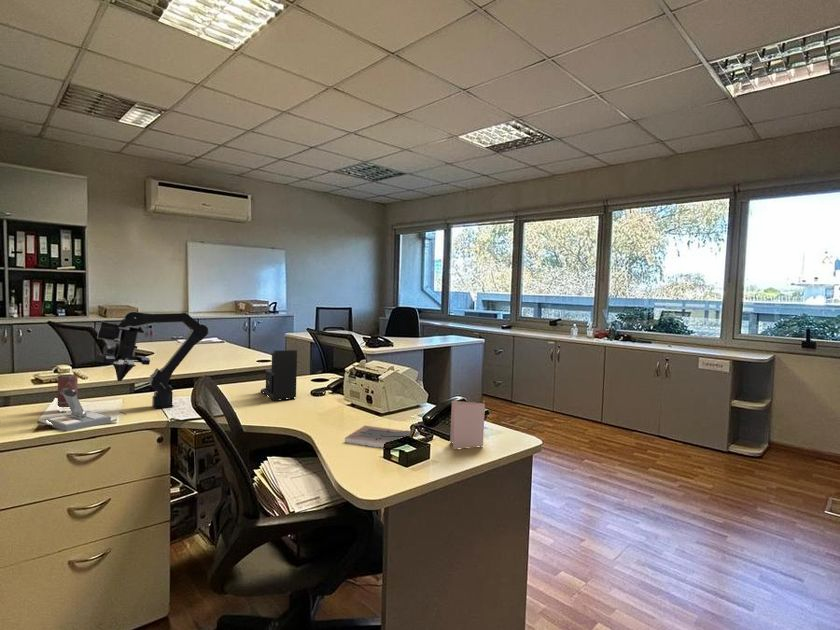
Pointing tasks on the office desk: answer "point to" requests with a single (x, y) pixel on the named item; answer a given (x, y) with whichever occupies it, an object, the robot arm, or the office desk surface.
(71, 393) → the toggle lever
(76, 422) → the switch base
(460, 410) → the greeting card
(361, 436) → the pale purple book
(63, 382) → the can
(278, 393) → the bookend
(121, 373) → the robot arm
